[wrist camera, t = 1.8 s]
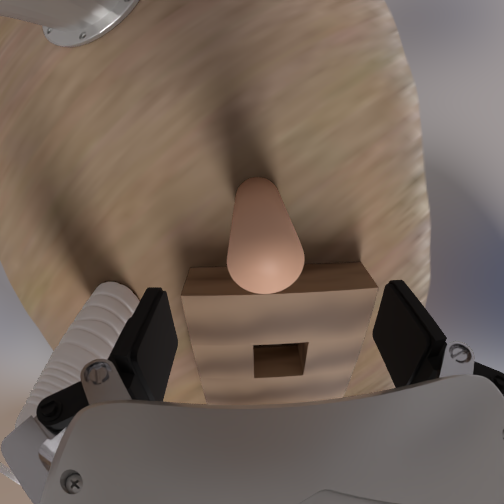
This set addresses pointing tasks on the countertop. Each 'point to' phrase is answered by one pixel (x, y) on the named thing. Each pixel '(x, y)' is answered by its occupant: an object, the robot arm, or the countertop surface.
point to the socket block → (278, 334)
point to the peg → (263, 240)
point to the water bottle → (82, 345)
